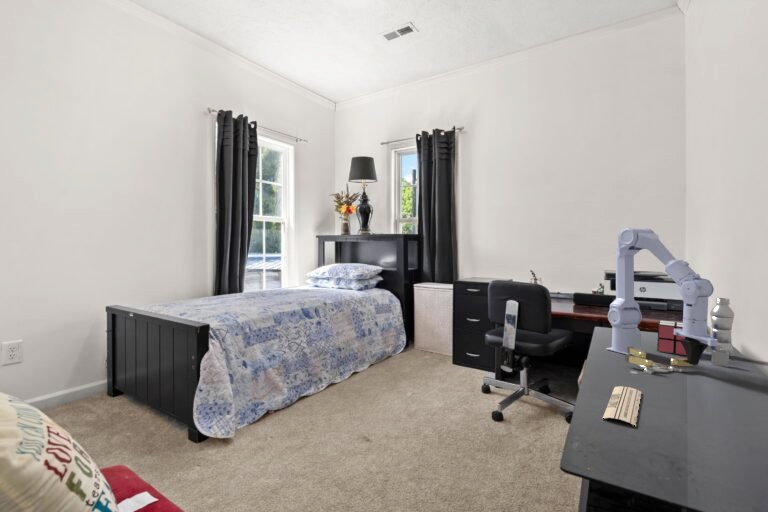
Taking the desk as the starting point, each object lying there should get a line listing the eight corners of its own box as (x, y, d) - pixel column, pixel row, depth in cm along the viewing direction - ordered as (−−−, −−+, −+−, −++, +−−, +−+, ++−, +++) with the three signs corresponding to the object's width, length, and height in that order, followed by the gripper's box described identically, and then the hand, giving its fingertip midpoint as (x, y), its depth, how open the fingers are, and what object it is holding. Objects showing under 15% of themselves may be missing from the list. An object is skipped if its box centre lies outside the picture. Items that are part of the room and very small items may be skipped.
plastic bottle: (704, 353, 138) (706, 297, 138) (714, 352, 141) (716, 297, 141) (726, 358, 133) (728, 300, 132) (736, 356, 136) (739, 299, 135)
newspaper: (635, 431, 80) (635, 422, 80) (596, 421, 84) (596, 413, 84) (641, 396, 99) (642, 389, 99) (609, 390, 103) (609, 383, 103)
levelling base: (641, 360, 128) (641, 356, 128) (684, 371, 118) (684, 366, 118) (618, 365, 122) (618, 361, 122) (661, 377, 112) (661, 372, 112)
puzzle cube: (692, 357, 134) (693, 328, 134) (657, 351, 140) (658, 324, 140) (691, 351, 142) (692, 323, 142) (658, 346, 148) (659, 320, 148)
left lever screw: (674, 366, 117) (674, 360, 117) (668, 364, 119) (669, 358, 119) (697, 365, 118) (697, 359, 118) (691, 363, 120) (691, 357, 120)
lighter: (728, 366, 124) (729, 341, 124) (728, 367, 123) (729, 342, 123) (700, 361, 129) (701, 337, 129) (699, 362, 128) (700, 337, 128)
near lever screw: (647, 359, 124) (647, 353, 124) (640, 358, 125) (641, 353, 124) (632, 352, 132) (632, 346, 132) (626, 352, 132) (626, 346, 132)
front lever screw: (654, 367, 116) (654, 361, 116) (650, 368, 115) (651, 361, 115) (628, 360, 122) (628, 354, 122) (624, 361, 121) (624, 355, 121)
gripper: (729, 324, 110) (727, 372, 110) (690, 315, 124) (688, 357, 124) (703, 323, 110) (701, 371, 110) (667, 314, 124) (665, 356, 125)
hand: (693, 364), depth 117 cm, fingers closed
